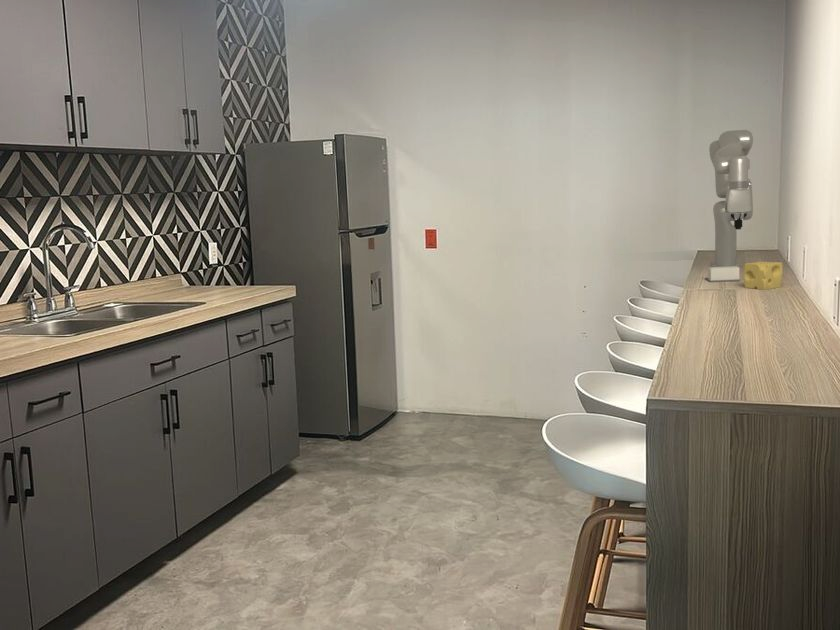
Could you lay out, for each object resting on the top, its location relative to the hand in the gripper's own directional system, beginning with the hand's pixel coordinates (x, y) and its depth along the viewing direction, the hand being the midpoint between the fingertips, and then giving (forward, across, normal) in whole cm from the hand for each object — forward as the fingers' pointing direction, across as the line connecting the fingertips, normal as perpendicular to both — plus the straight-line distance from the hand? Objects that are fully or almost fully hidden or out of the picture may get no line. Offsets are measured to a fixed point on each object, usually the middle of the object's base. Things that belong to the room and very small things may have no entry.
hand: (738, 229), depth 363 cm
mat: (+21, +8, +4) cm, 23 cm away
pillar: (+18, +1, +4) cm, 19 cm away
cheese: (+21, -3, +28) cm, 36 cm away
